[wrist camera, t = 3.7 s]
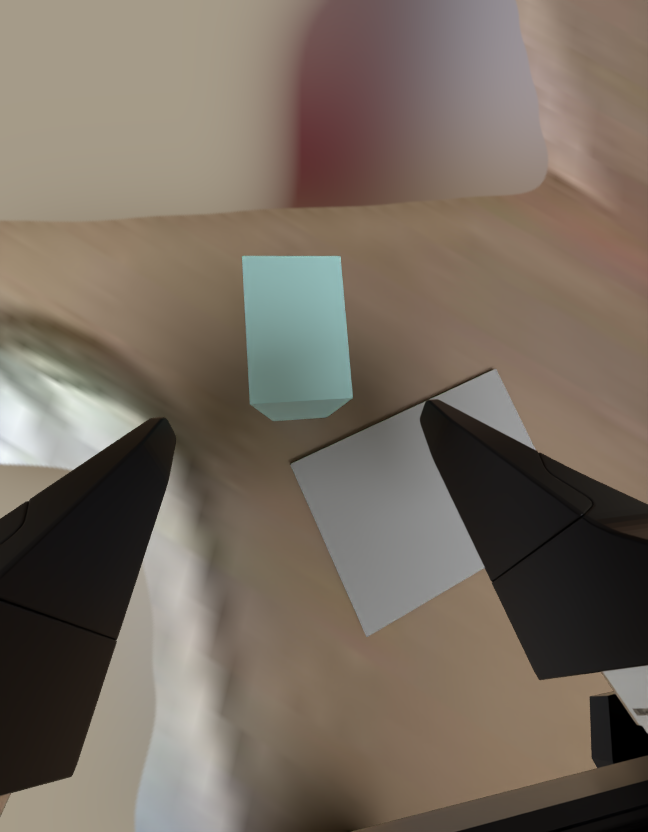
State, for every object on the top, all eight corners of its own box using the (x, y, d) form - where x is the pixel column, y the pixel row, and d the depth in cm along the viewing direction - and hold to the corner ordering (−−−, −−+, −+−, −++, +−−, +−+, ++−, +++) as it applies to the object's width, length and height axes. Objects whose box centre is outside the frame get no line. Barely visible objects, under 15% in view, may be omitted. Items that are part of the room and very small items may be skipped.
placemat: (365, 632, 18) (366, 637, 17) (290, 463, 18) (290, 464, 18) (563, 516, 20) (568, 517, 20) (492, 369, 21) (495, 368, 20)
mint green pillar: (272, 421, 18) (249, 404, 10) (268, 342, 19) (241, 255, 10) (326, 417, 19) (352, 397, 10) (320, 340, 19) (340, 256, 10)
